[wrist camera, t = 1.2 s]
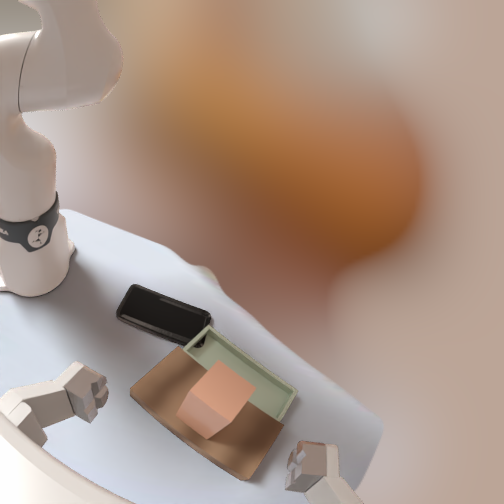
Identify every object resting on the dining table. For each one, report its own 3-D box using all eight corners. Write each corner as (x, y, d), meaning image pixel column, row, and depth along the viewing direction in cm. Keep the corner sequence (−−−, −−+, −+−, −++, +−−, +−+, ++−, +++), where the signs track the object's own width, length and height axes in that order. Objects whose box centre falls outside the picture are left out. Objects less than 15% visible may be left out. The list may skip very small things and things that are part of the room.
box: (178, 356, 39) (180, 350, 38) (205, 330, 45) (208, 324, 44) (273, 426, 36) (279, 423, 34) (292, 395, 41) (298, 390, 40)
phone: (202, 349, 41) (114, 314, 39) (201, 352, 42) (114, 318, 40) (212, 312, 48) (132, 281, 45) (210, 316, 48) (132, 285, 46)
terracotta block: (175, 415, 29) (189, 390, 24) (198, 390, 33) (218, 359, 28) (206, 439, 28) (231, 422, 23) (228, 413, 32) (256, 388, 26)
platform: (130, 395, 31) (129, 388, 30) (175, 355, 39) (178, 345, 38) (240, 480, 27) (248, 479, 26) (274, 429, 35) (284, 424, 33)
